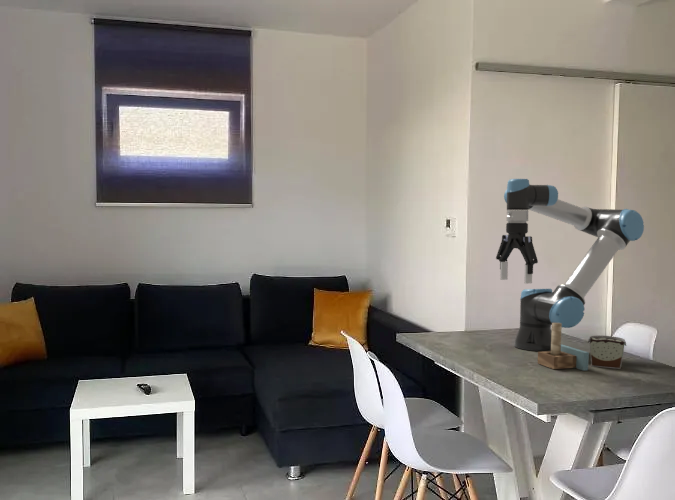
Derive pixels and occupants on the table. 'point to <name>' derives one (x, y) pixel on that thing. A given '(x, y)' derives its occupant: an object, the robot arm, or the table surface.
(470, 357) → the table surface
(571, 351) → the wall
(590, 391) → the table surface
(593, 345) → the food container
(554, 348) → the dowel
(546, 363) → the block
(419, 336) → the table surface
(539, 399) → the table surface
